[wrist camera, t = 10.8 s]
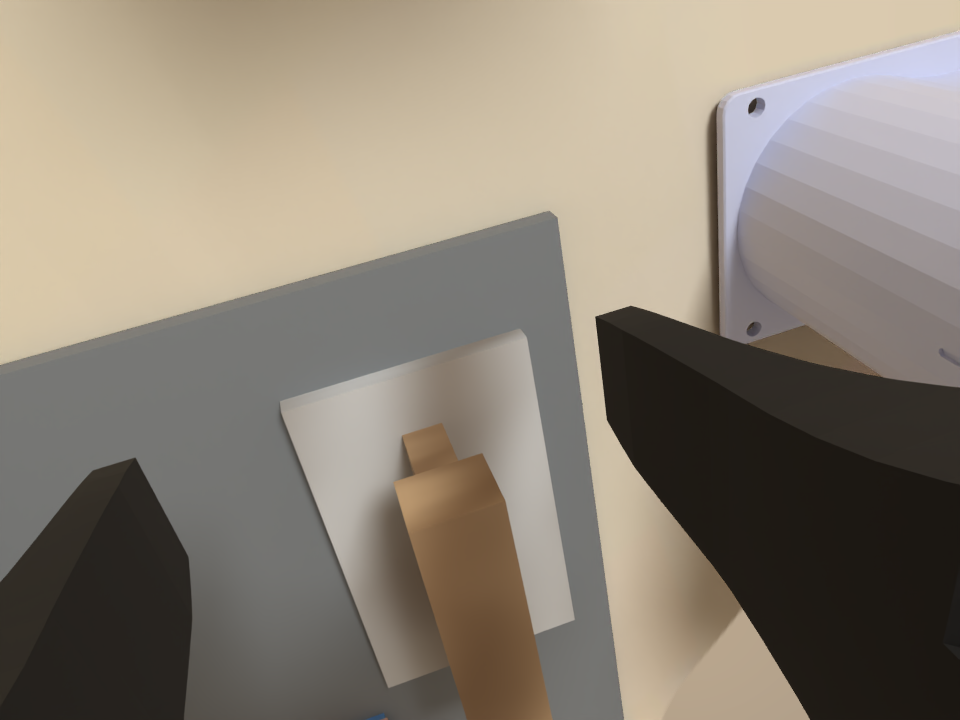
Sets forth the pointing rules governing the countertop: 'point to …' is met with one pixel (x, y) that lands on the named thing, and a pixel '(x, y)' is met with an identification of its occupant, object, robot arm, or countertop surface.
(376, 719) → the tile
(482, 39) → the countertop surface
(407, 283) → the mat
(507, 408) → the trowel
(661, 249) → the countertop surface
